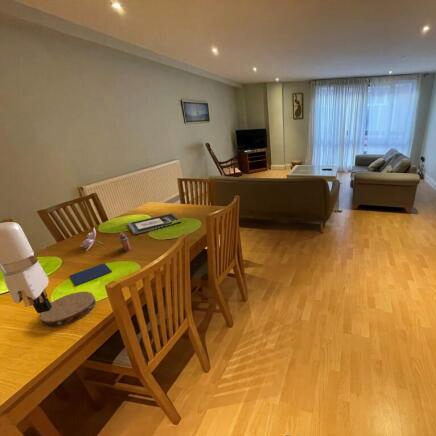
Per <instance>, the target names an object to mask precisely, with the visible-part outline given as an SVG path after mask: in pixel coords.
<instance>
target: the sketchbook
mask: <svg viewBox="0 0 436 436" xmlns="http://www.w3.org/2000/svg"><path fill="white" fill-rule="evenodd" d="M178 219H179V218H178V217H176V216H175V215H174V214H173V213H167V214H164V215H159V216H154V217H149V218H146V219H145V218H144V219H140V220H135V221H132V222H128V223H127V224H126V225H127V227H128V228H129V229H130V231H131V232H132V234H133V235H139V234H142V233H146V232H150V231H155V230H159V229H162V228H164V227H163V226H166V227H168V226H167V225H170V224H172V221H174V220H178ZM170 226H171V225H170ZM160 227H162V228H160ZM166 227H165V228H166ZM157 228H158V229H157ZM154 229H155V230H154Z"/></svg>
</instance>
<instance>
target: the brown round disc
mask: <svg viewBox="0 0 436 436" xmlns="http://www.w3.org/2000/svg"><path fill="white" fill-rule="evenodd" d="M50 303H51V305H52V308H51V309H50V311H46V312H42V313H39V314H38V315H39V316H38V318H39V319H40V321H41V324H42V325H43V326H44V327H46V328H59V327H64V326H67V325H69V324H73V323H74V322H77V321H78V320H81V319H82V318H84V317H86V316H87V315H88V314H90V313H91V312H92V311H93V310H94V309H95V306H96V305H97V301H96V298H95V295H94V294H93V293H92V292H90V291H78V292H72V293H69V294H66V295H63V296H62V297H59V298H57V299H55V300H54V301H52V302H50Z"/></svg>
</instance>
